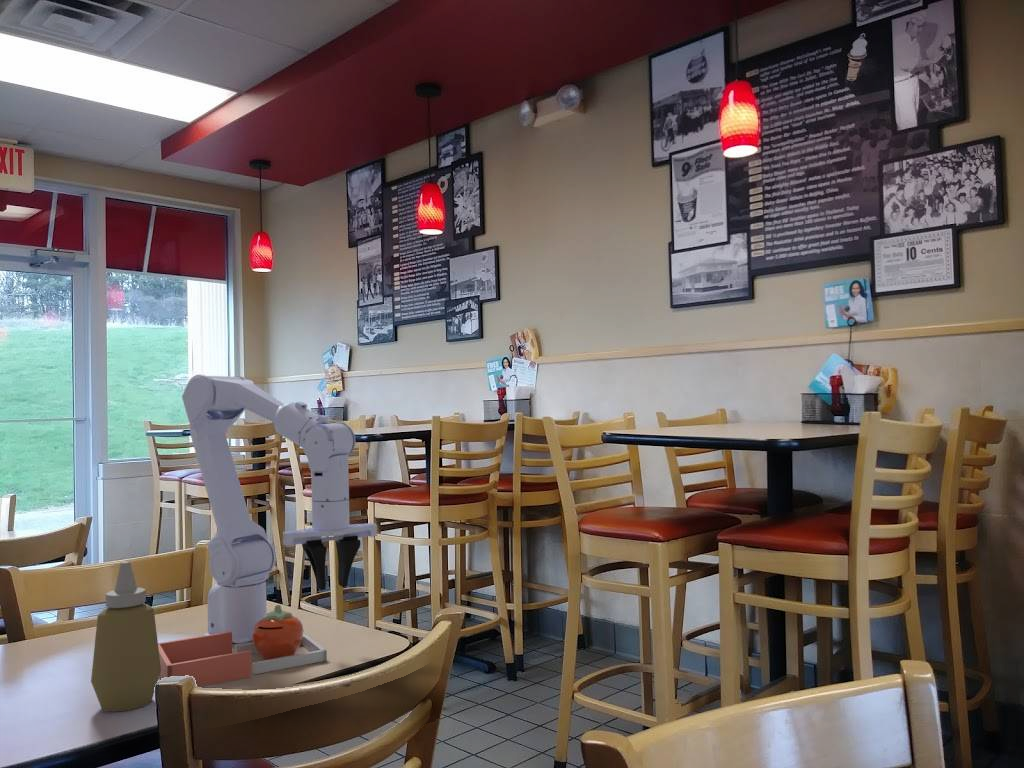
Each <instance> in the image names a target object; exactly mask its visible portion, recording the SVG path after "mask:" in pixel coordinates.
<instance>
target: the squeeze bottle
mask: <svg viewBox="0 0 1024 768" xmlns="http://www.w3.org/2000/svg"><path fill="white" fill-rule="evenodd" d="M146 601H147V590H146V589H145V588H144V587H137V583H136V579H135V575H134V570H133V566H132V563H131V561H124V562H120V565H119V568H118V574H117V578H116V583H115V586H114V590H110V591H108V592H107V593H105V606H106V607H107V608H104V609H103V610H102V611H101V612H100V613H99V614H98V615H97V617H96V628H95V638H94V639H95V640H94V647H93V658H92V669H91V676H90V678H91V679H90V683H91V686H92V687H93V691H94V693H95V695H96V697H97V700H98V703H99V705H100V708H101V709H102V710H103V711H108V712H123V711H130V710H133V709H138V708H141V707H143V706H146V705H147V704H149V703H151V702H152V700H153V697H154V693H155V691H154V687H155V684H156V683H157V684H158V682H159V679H160V677H159V676H160V672H161V665H160V656H159V648H158V643H159V641H158V631H157V625H156V617H155V609H154V607H152V606H151V605H149V604H148V603H145V602H146ZM157 681H158V682H157Z"/></svg>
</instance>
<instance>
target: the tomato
mask: <svg viewBox="0 0 1024 768" xmlns="http://www.w3.org/2000/svg"><path fill="white" fill-rule="evenodd" d="M303 634H304V626H303V623H302V621H301V620H300V619H299V618H298V617H296V616H294V615H293V614H292V612H290V611H287V610H283V609H282V606H281V605H280V604H276V605H275V606H274V610H272V611H269V612H267V616H266V617H265V618H263V619H261V620H260V621H259V622H258V623H257V624H256V625H255V627H254V629H253V640H252V642H254V645H255V647H256V650H257V651H258V652H257V653H258V655H259V657H261V658H262V659H263V660H270V659H275V658H280V657H286V656H291V655H296V654H297V652H298V650H299V648H300V646H301V645H300V644H301V641H302V638H303Z"/></svg>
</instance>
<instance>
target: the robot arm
mask: <svg viewBox="0 0 1024 768" xmlns="http://www.w3.org/2000/svg"><path fill="white" fill-rule="evenodd" d="M181 398H182V399H181V400H182V401H183V404H184V405H183V406H184V409H185V412H186V416H187V420H188V423H189V434H190V438H191V441H192V445H193V448H194V449H193V450H194V452H195V456H196V458H197V463H198V465H199V469H200V473H201V477H202V479H203V483H204V486H205V490H206V494H207V497H208V502H209V504H210V508H211V511H212V514H213V515H212V516H213V519H214V522H215V525H216V529H217V530H216V532H215V533H214V534H213V536H212V537H211V538H210V540H209V542H208V543H207V545H206V546H207V548H208V552H209V561H208V562H209V563H208V566H209V572H210V575H211V576H212V578H213V579H214V581H216V583H214V584H213V585H212V587H211V588H210V590H209V592H208V595H207V601H206V602H207V633H204V634H203V636H206V635H212V634H218V633H224V632H230V631H231V632H232V643H233V644H234V643H236V644H238V645H239V644H245V643H250V642H253V629H254V627H255V625H256V624H257V623H258V622H259V621H260V620H261V619H263V618H265V617H266V616H267V613H268V612H267V609H268V608H267V606H268V605H267V579H270V573H271V572H272V571H273V569H274V568H275V565H276V562H277V554H276V553H277V552H276V549H275V547H274V544H273V543H272V542H271V540H269V538H268V537H267V534H266V529H264V527H262V526H261V525H260V524H258V523H256V522H255V521H253V520H252V519H251V515H250V512H249V510H248V507H247V503H246V499H245V496H244V493H243V490H242V489H243V488H242V485H241V483H240V479H239V475H238V472H237V468H236V465H235V462H234V458H233V456H232V452H231V451H232V450H231V448H230V445H229V442H228V439H227V433H228V430H229V428H231V427H233V426H234V424H236V422H238V421H237V420H238V419H239V418H240V417H241V416H242V415H243V413H244V412H245V410H247V411H250V412H252V413H254V414H255V415H258V416H260V417H262V418H264V419H265V420H268V421H270V422H272V423H273V426H274V430H275V432H276V433H277V434H278V435H280V436H282V437H283V438H285V439H287V440H289V441H290V442H292V443H293V444H295V445H298V446H299V447H301V448H302V451H303V453H304V455H305V456H306V458H307V461H308V469H309V471H310V472H311V475H310V476H311V478H310V479H311V481H310V482H311V483H310V484H311V486H310V487H311V527H309V528H303V529H298V530H291V531H290V530H289V531H283V533H282V544H283V546H285V547H293V546H294V545H295V546H296V545H301V546H302V550H303V551H304V553H305V555H306V557H307V559H308V561H309V563H310V565H311V568H312V571H313V574H314V579H315V582H316V588H317V589H318V590H320V591H324V590H326V589H327V588H326V587H327V578H326V577H327V575H326V557H327V550H328V548H327V547H326V546H324V543H323V542H331V541H335V547H336V552H337V553H336V554H337V565H338V567H337V568H338V569H337V581H338V586H341V587H342V588H347V587H348V582H349V578H350V577H349V576H350V573H351V570H352V566H353V563H354V560H355V558H356V555H357V553H358V551H359V549H360V548H361V540H360V539H359V538H365V537H371V538H372V537H377V536H378V524H377V523H374V522H371V523H370V522H369V523H353V524H350V488H349V487H350V483H349V482H350V481H349V478H350V477H349V456H351V455H352V453H353V452H354V451H355V450H354V449H356V436H355V432H354V431H353V429H352V428H351V427H350V425H348V424H347V423H345V422H344V421H336V422H334V423H332V422H331V421H330V420H329V417H328V416H326V415H324V414H317V413H316V412H315V411H312V410H310V409H308V404H307V403H306V402H303V401H296V402H293V401H292V402H288V403H287V404H284V403H283V402H282V401H280V400H279V399H277V398H275V397H274V396H273V395H271V394H269V393H268V392H266V391H265V390H263V389H261V388H260V387H259V386H257V385H255V382H254V380H253V381H252V380H250V379H247V378H245V377H244V376H241V375H233V376H227V375H225V376H224V375H223V376H222V375H221V376H220V375H205V374H200V373H199V374H194V376H192V377H191V378H190V379H189V380H188V382H187V384H186V386H185V389H184V391H183V394H182V396H181Z"/></svg>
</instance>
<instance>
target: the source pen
mask: <svg viewBox="0 0 1024 768" xmlns="http://www.w3.org/2000/svg"><path fill="white" fill-rule="evenodd" d="M301 645H302V646H303V647H304V648H306V650H308V652H304V653H303V652H302V653H298V654H297V653H296V654H294V655H291V656H286V657H280V658H275V659H270V660H265V659H263V660H260V661H259V660H258V661H254V662H251V674H252V675H257V674H263V673H268V672H274V671H279V670H284V669H289V668H294V667H301V666H305V665H310V664H315V663H321V662H325V661H327V659H328V656H327V655H328V654H327V649H325V648H324V647H323V646H322V645H320V644H319V643H318V642H317V641H315V640H313V639H312V638H311V637H310V636H309V635H307V634H305V633H303V638H302V641H301V644H300V646H301ZM248 650H250V651H251V654H255V653H258V651H257V650H256V647H255V645H254V642H253V641H250V642H246V643H243V644H239V643H238V644H235V653H237V652H243V651H248Z"/></svg>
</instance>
